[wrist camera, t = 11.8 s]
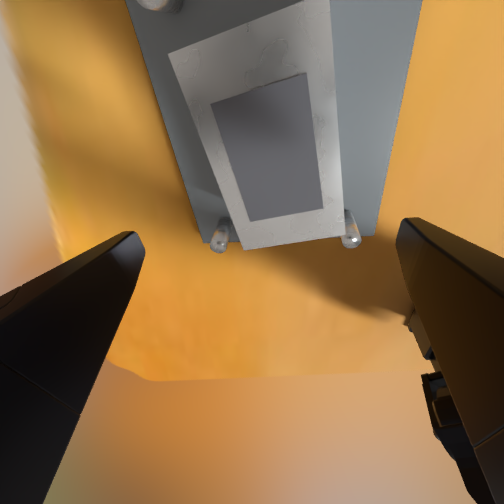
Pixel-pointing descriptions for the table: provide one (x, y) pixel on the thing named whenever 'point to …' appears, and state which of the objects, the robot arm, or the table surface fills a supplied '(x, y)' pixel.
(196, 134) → the pin tray
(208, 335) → the table surface
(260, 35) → the block
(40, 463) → the robot arm
